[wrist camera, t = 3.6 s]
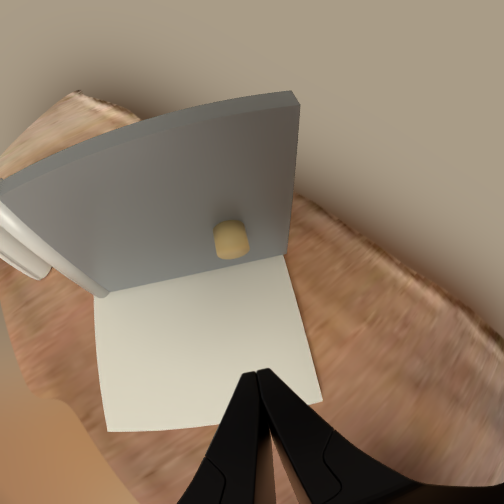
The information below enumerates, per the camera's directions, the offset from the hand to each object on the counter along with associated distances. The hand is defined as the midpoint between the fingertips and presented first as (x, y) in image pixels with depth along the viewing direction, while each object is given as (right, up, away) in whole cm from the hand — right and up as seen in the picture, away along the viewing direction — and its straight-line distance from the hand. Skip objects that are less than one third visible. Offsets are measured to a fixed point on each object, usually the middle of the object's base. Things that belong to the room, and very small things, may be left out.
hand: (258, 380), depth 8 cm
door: (-6, +2, +15) cm, 16 cm away
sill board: (-5, -3, +14) cm, 15 cm away
